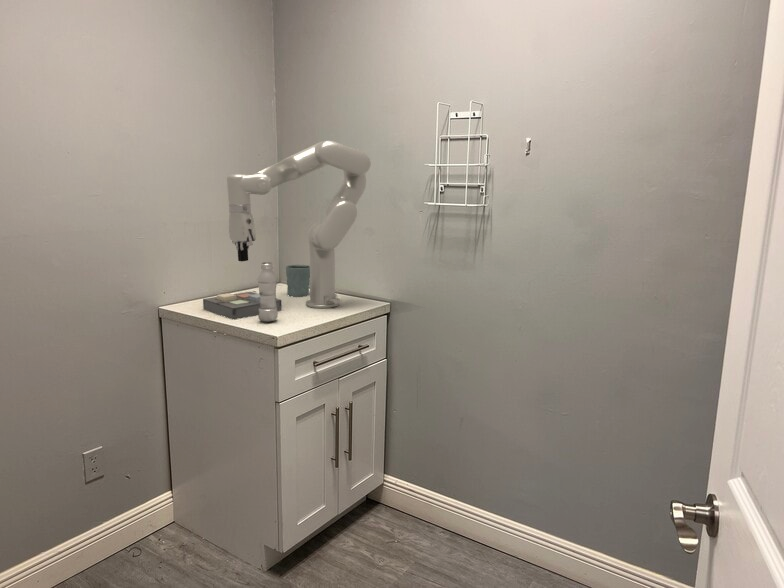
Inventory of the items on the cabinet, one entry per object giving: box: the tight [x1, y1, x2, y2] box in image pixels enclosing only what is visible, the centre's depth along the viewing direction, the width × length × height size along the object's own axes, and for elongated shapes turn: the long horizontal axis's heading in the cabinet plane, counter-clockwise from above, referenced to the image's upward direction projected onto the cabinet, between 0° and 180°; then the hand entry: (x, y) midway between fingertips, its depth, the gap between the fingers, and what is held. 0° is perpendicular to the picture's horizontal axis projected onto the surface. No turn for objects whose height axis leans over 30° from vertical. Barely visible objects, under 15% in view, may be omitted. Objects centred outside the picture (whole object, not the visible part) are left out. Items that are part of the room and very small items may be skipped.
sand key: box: [216, 293, 236, 302], centre depth 212 cm, size 5×5×2 cm
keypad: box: [202, 291, 283, 320], centre depth 212 cm, size 20×20×4 cm
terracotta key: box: [236, 294, 251, 299], centre depth 218 cm, size 5×5×2 cm
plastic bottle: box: [256, 261, 279, 323], centre depth 195 cm, size 6×7×20 cm
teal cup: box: [285, 264, 310, 298], centre depth 240 cm, size 10×10×12 cm
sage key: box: [229, 300, 249, 305], centre depth 207 cm, size 5×5×2 cm
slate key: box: [248, 293, 260, 302], centre depth 212 cm, size 5×5×2 cm
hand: (243, 260), depth 210 cm, fingers closed
